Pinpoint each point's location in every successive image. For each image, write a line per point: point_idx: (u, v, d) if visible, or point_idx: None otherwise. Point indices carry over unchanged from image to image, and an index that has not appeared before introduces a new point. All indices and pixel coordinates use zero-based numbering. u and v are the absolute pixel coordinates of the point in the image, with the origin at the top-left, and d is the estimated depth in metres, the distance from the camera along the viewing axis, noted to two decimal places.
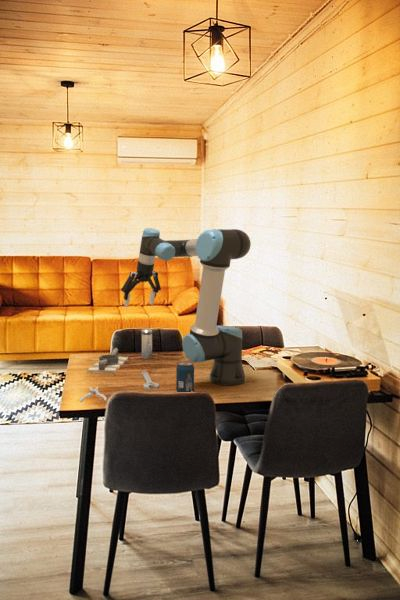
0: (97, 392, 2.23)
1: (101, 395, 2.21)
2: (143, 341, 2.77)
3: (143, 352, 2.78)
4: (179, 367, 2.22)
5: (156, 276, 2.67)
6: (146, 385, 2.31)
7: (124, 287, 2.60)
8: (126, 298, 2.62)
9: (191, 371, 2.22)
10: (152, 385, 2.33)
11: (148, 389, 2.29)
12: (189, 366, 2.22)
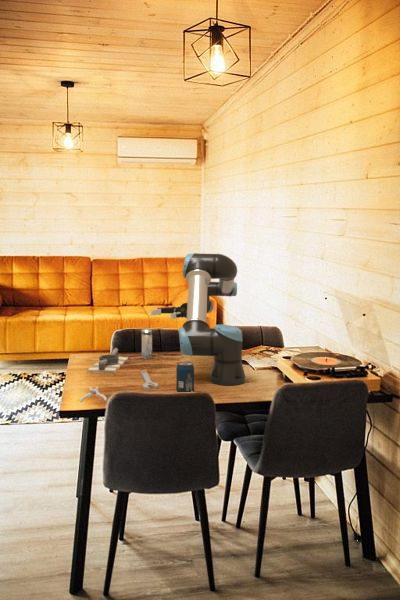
0: (97, 392, 2.23)
1: (101, 395, 2.21)
2: (143, 341, 2.77)
3: (143, 352, 2.78)
4: (179, 367, 2.22)
5: None
6: (145, 385, 2.32)
7: None
8: None
9: (191, 371, 2.22)
10: (151, 385, 2.33)
11: (147, 389, 2.29)
12: (189, 366, 2.22)
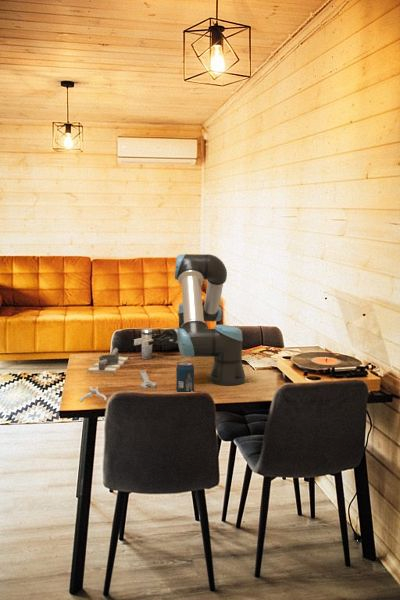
0: (97, 392, 2.23)
1: (101, 395, 2.21)
2: None
3: (143, 352, 2.78)
4: (179, 367, 2.22)
5: (169, 337, 2.83)
6: (143, 384, 2.32)
7: None
8: None
9: (191, 371, 2.22)
10: (149, 384, 2.34)
11: (145, 388, 2.30)
12: (189, 366, 2.22)
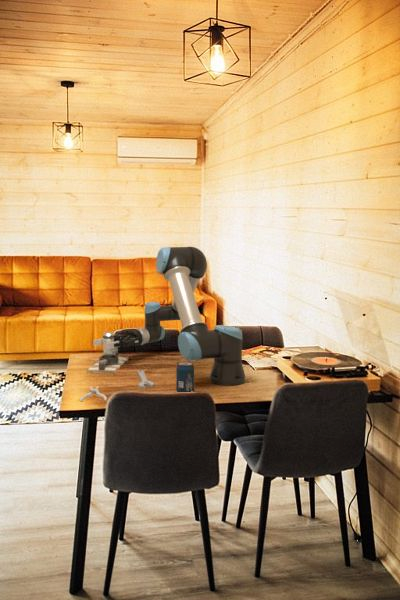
0: (97, 392, 2.24)
1: (101, 395, 2.21)
2: (104, 345, 2.63)
3: (105, 357, 2.63)
4: (179, 367, 2.22)
5: (134, 339, 2.68)
6: (141, 384, 2.33)
7: None
8: None
9: (191, 371, 2.22)
10: (147, 384, 2.34)
11: (143, 388, 2.31)
12: (189, 366, 2.22)
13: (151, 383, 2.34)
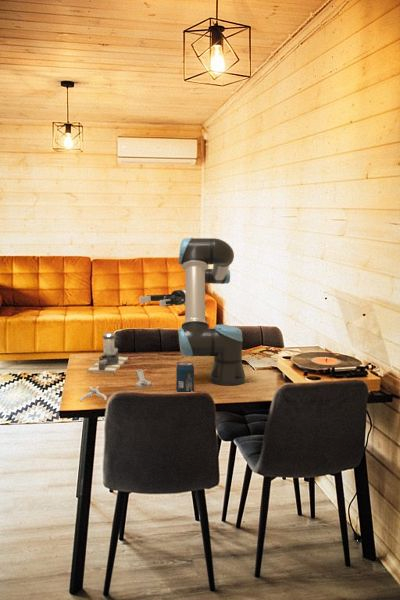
0: (97, 391, 2.24)
1: (101, 394, 2.21)
2: (105, 346, 2.62)
3: (105, 357, 2.63)
4: (179, 367, 2.22)
5: (180, 297, 2.80)
6: (138, 383, 2.34)
7: None
8: None
9: (191, 371, 2.22)
10: (144, 383, 2.35)
11: (140, 387, 2.31)
12: (189, 366, 2.22)
13: (148, 382, 2.35)
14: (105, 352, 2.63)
